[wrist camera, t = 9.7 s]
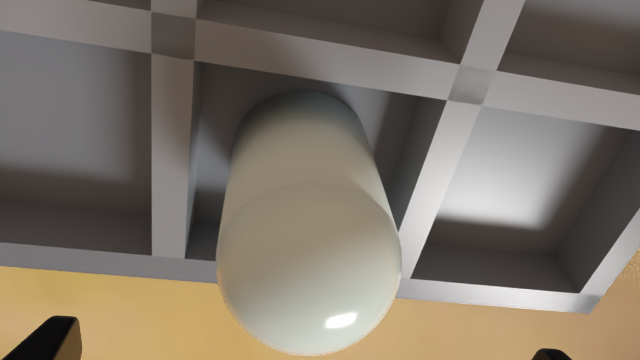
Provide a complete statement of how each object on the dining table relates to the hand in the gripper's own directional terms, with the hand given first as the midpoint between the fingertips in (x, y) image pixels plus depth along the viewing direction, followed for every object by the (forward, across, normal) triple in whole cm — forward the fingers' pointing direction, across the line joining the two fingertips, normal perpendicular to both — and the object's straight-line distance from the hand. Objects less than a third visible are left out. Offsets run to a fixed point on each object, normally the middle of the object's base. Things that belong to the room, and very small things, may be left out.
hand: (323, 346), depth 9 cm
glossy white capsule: (+8, 0, 0) cm, 8 cm away
